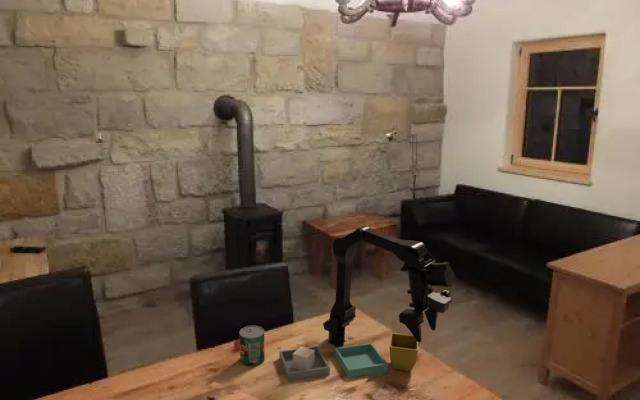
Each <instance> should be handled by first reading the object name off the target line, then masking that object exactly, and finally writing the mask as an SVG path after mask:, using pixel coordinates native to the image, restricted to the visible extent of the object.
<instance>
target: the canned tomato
mask: <svg viewBox="0 0 640 400" xmlns="http://www.w3.org/2000/svg"><path fill="white" fill-rule="evenodd" d="M265 352H266V351H265V329H264V328H263V327H262V326H259V325H247V326H244V327H243V328H241V329H240V330H239V361H240V363H241V365H243V366H245V367H250V368H251V367H258V366H261V365H262V364H263V363H264V361H265V356H266V353H265Z"/></svg>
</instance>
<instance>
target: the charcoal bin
mask: <svg viewBox="0 0 640 400" xmlns="http://www.w3.org/2000/svg"><path fill="white" fill-rule="evenodd" d="M305 348H309V349H312V350H315V365H314V366H313V367H312V368H311V369H308V370H302V371H301V370H298V369H295V368H293V353H294V352H295V351H296V350H297V349H298V348H293V349H285V350H279V352H278V354H279V355H278V356H279V357H278V358H279V361H280V363H281V366H282V369H283V371H284V374H285V376H286V379H287V381H288V382H292V381H293V382H294V381H299V380H305V379H306V380H307V379H313V378H318V377H319V378H320V377H323V376H330V375H331V373H330V372H331V371H330V370H331V366H330V365H329V364H328V361H327V360H326V357H324V354H323V353H322V351H321V349H320V347H319V345H314V346H307V347H305Z"/></svg>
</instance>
